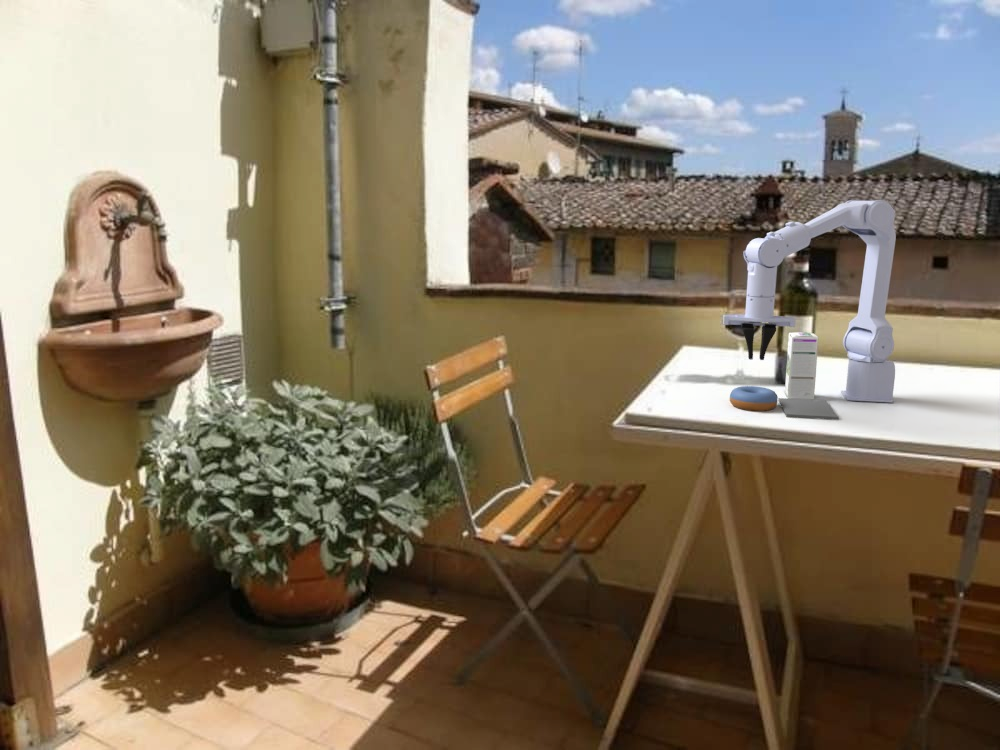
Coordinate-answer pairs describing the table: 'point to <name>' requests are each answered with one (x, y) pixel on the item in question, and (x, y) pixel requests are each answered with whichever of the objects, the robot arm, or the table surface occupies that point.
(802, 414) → the mat
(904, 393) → the table surface
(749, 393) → the doughnut
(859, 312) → the robot arm
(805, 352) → the syrup box
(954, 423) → the table surface
